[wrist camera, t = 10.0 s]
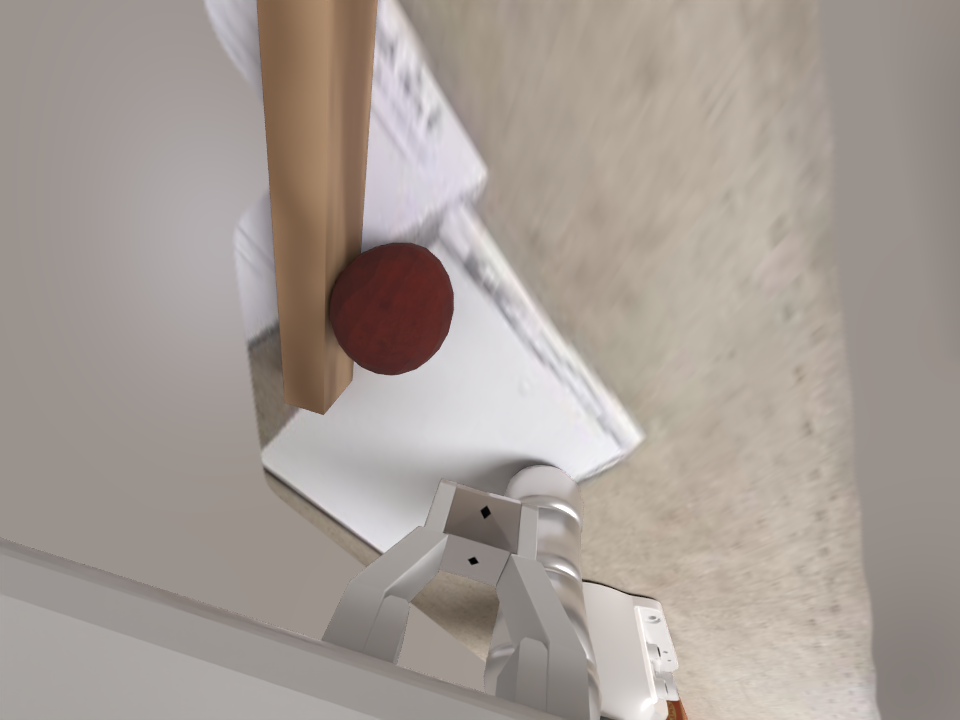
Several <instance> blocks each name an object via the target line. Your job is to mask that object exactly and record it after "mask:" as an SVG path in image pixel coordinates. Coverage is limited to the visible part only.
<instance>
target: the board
mask: <svg viewBox="0 0 960 720" xmlns="http://www.w3.org/2000/svg"><path fill="white" fill-rule="evenodd" d="M257 13H258V27H259V41H260V56H261V70H262V84H263V99H264V113H265V127H266V141H267V154H268V170H269V185H270V199H271V213H272V227H273V242H274V256H275V270H276V285H277V299H278V313H279V328H280V342H281V356H282V371H283V385H284V399H285V403H287V404H290V405H293V406H296V407H300V408H303V409H306V410H309V411H312V412H316V413H319V414H322V415H324V414H325V413H326V412H327V410H328V409H329V408H330V407H331V405H332V404H333V403H334V402H335V401H336V399H337V398H338V397H339V396H340V395H341V393H342V392H343V391H344V390H345V388H346V387H347V386H348V385H349V384H350V382H351V381H352V376H353V360H352V359H351V358H350V357H348V356H347V354H346V353H345V352H344V350H343V349H342V348H341V346H340V345H339V343H338V341H337V339H336V336H335V334H334V331H333V328H332V325H331V322H330V319H329V318H330V305H331V296H332V292H333V288H334V285H335V283H336V281H337V279H338V277H339V275H340V273H341V272H342V271H343V270H344V269H345V268H346V267H347V266H349V265H350V264H351V263H352V262H353V261H354V260H355V259H356V258H357V257H358V256H359V255H360V254H361V241H362V226H363V211H364V196H365V180H366V165H367V150H368V135H369V120H370V105H371V90H372V75H373V60H374V45H375V30H376V15H377V0H257Z"/></svg>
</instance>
